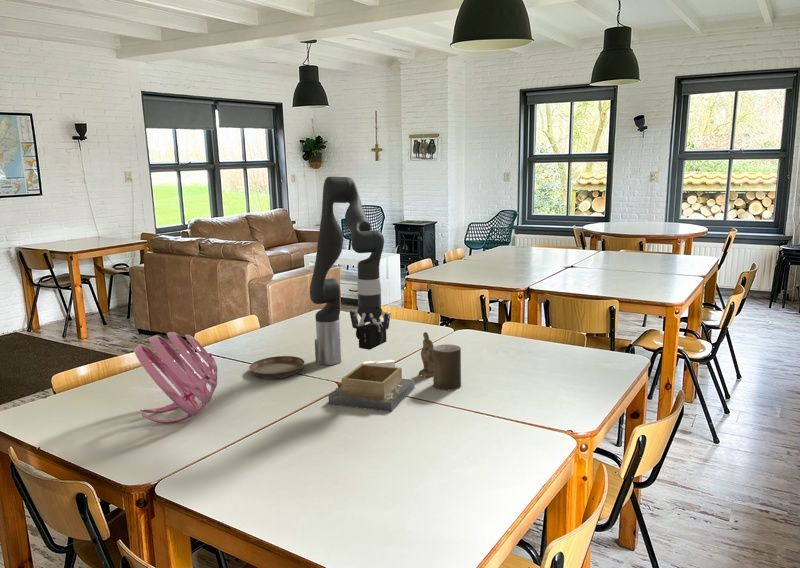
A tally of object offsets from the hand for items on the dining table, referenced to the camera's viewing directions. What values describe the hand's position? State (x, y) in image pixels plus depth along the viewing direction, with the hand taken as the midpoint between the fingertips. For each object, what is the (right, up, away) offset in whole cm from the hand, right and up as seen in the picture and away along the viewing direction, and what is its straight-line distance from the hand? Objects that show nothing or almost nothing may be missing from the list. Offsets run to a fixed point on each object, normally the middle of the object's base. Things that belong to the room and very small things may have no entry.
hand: (370, 341), depth 209 cm
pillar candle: (+26, -17, +12) cm, 33 cm away
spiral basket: (-60, -23, -8) cm, 65 cm away
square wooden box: (+1, -19, +4) cm, 19 cm away
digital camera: (0, -1, 0) cm, 1 cm away
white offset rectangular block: (+1, -15, +26) cm, 30 cm away
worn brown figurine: (+22, -14, +26) cm, 37 cm away
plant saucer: (-37, -15, +31) cm, 51 cm away
